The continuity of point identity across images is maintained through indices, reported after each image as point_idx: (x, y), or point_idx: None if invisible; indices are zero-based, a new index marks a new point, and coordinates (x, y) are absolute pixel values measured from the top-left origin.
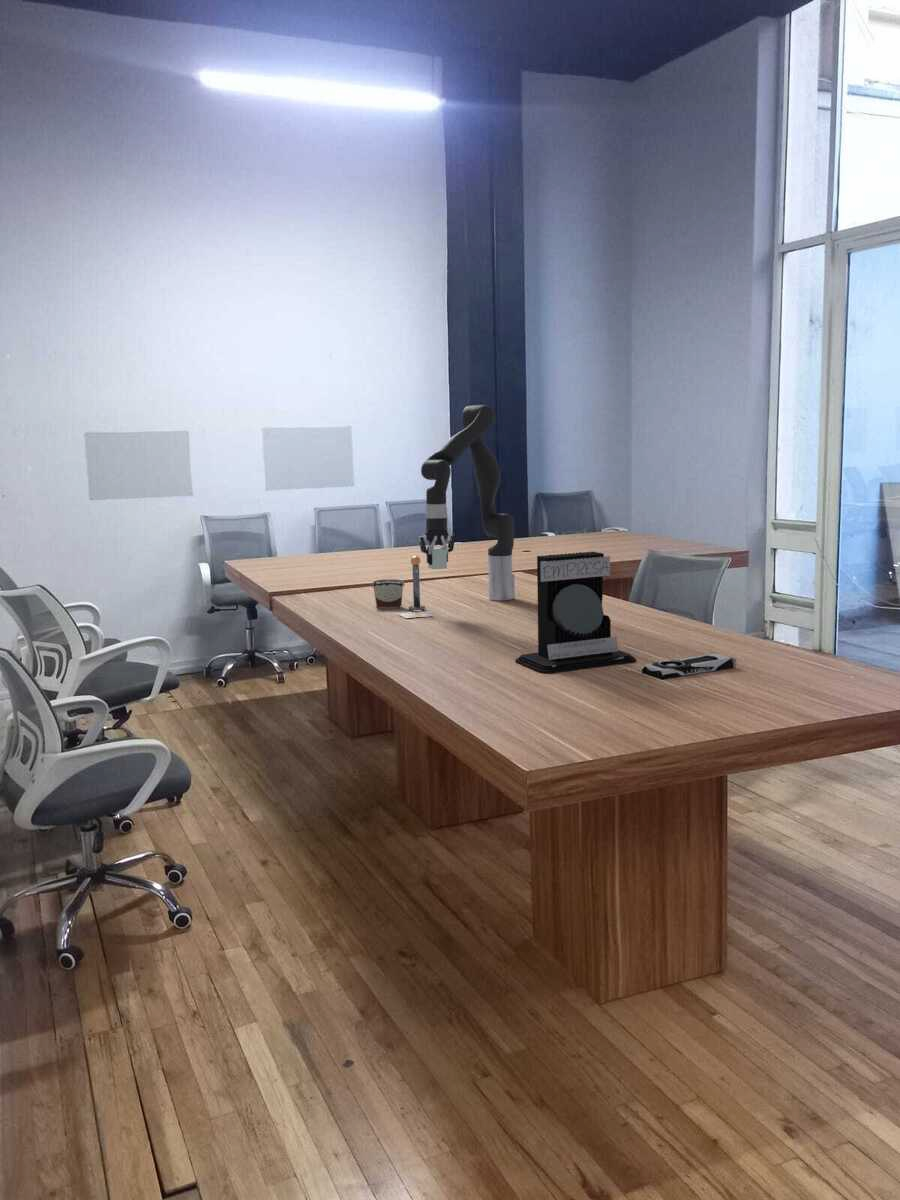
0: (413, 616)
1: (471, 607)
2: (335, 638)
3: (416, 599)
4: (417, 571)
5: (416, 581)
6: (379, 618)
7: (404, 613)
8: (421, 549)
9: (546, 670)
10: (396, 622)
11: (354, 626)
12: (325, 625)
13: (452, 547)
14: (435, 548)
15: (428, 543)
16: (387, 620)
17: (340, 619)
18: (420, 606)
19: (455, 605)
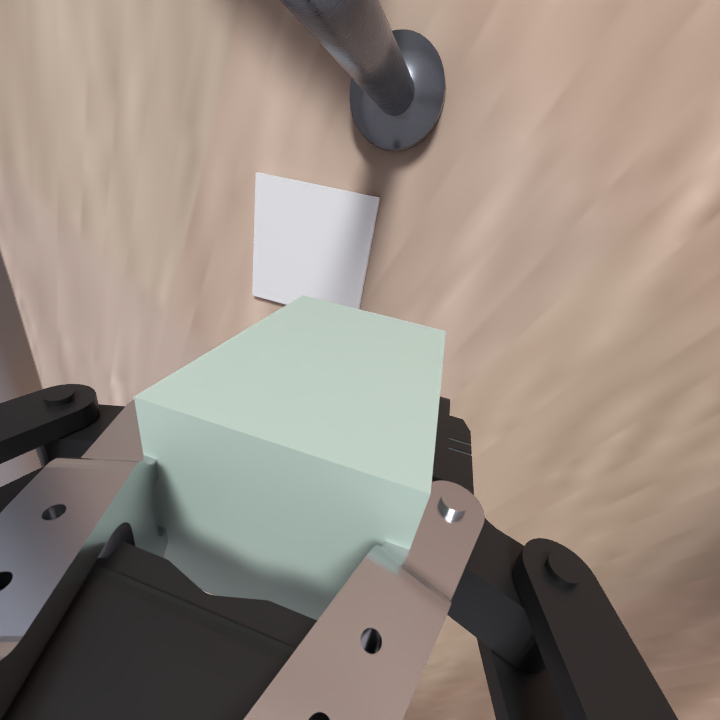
0: (286, 284)
1: (677, 246)
2: (40, 380)
3: (373, 100)
4: (314, 19)
5: (338, 60)
6: (177, 198)
7: (285, 189)
8: (12, 421)
9: None
10: (208, 317)
11: (85, 279)
12: (4, 192)
13: (536, 707)
14: (254, 499)
15: (6, 535)
16: (192, 261)
17: (45, 102)
18: (416, 96)
19: (688, 99)
